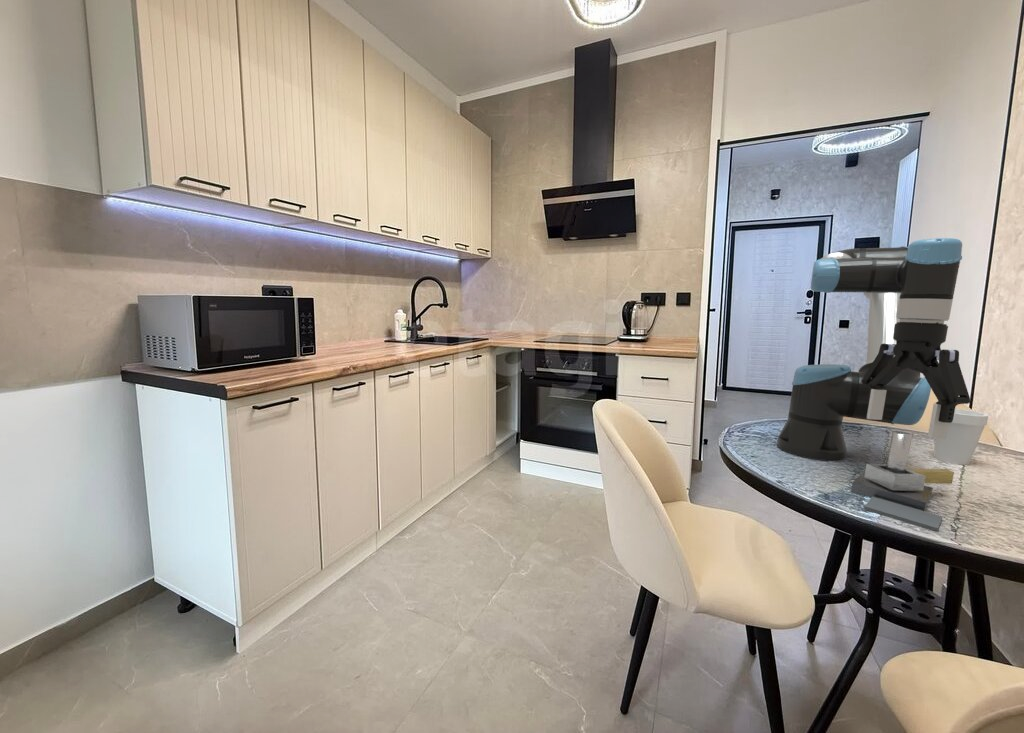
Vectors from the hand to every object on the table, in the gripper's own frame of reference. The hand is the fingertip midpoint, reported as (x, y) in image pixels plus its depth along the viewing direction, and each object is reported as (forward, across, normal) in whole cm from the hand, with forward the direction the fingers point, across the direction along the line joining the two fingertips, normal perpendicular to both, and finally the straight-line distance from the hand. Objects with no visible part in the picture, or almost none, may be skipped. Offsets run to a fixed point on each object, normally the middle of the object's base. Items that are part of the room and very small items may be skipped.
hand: (902, 428), depth 86 cm
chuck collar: (+12, 0, -5) cm, 13 cm away
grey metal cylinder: (+12, 0, 0) cm, 12 cm away
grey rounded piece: (+14, +23, -36) cm, 45 cm away
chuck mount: (+14, 0, 0) cm, 14 cm away
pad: (+14, -8, +6) cm, 17 cm away
